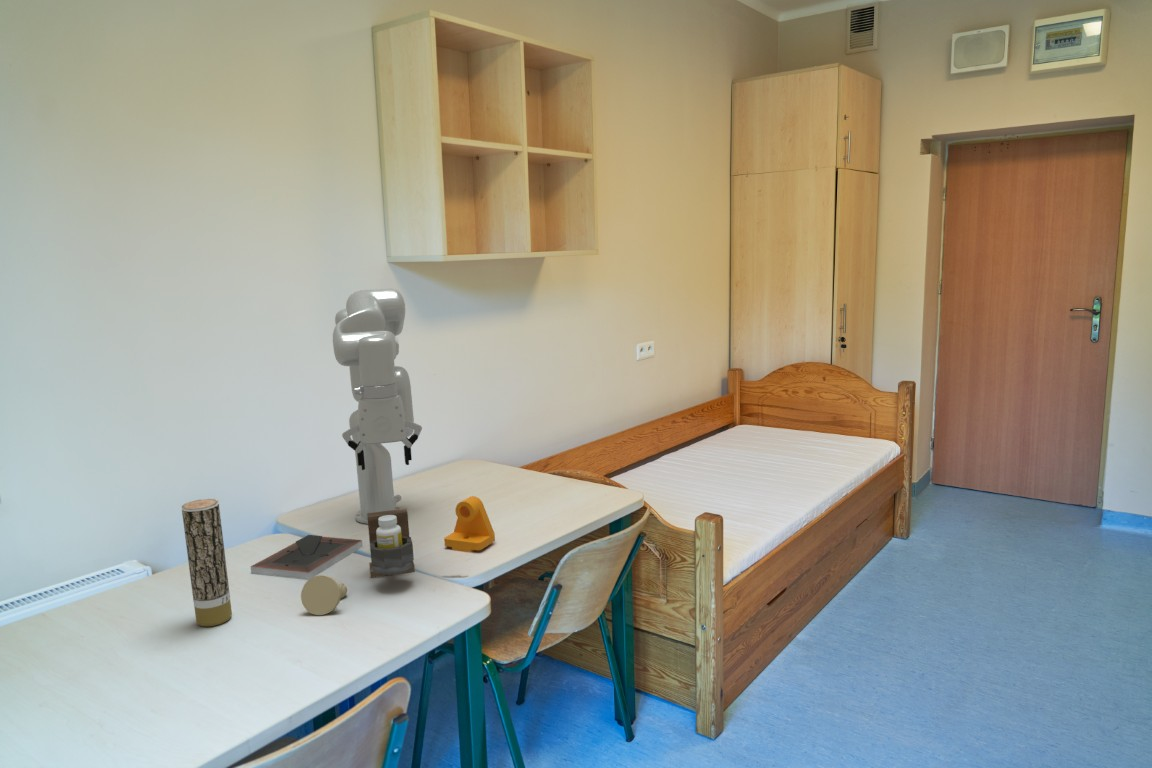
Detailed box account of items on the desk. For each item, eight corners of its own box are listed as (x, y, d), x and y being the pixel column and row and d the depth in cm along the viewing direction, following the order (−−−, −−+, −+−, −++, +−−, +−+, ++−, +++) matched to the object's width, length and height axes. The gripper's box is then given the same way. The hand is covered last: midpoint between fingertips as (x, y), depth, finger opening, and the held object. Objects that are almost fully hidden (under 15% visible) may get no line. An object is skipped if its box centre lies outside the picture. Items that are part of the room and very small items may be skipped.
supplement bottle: (395, 553, 182) (391, 512, 180) (408, 559, 178) (404, 516, 176) (374, 560, 178) (370, 518, 177) (387, 566, 174) (383, 523, 173)
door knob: (317, 572, 176) (353, 571, 176) (317, 610, 175) (353, 608, 175) (301, 576, 166) (339, 574, 166) (300, 615, 165) (339, 614, 165)
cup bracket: (369, 568, 190) (364, 511, 187) (412, 562, 192) (408, 506, 190) (372, 596, 173) (366, 535, 171) (419, 589, 176) (414, 528, 174)
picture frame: (309, 543, 210) (251, 575, 190) (308, 534, 210) (250, 565, 190) (363, 548, 205) (309, 581, 185) (362, 539, 204) (308, 571, 184)
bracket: (443, 549, 200) (439, 502, 199) (459, 539, 207) (455, 494, 205) (480, 553, 196) (477, 506, 194) (495, 543, 203) (492, 498, 201)
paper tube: (197, 631, 161) (181, 511, 157) (195, 618, 167) (180, 502, 163) (233, 622, 164) (219, 505, 160) (231, 610, 170) (217, 496, 166)
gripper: (338, 398, 171) (345, 475, 175) (420, 391, 176) (425, 466, 179) (338, 391, 178) (345, 465, 182) (417, 385, 183) (422, 457, 186)
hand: (385, 465), depth 180 cm, fingers open, 9 cm apart
